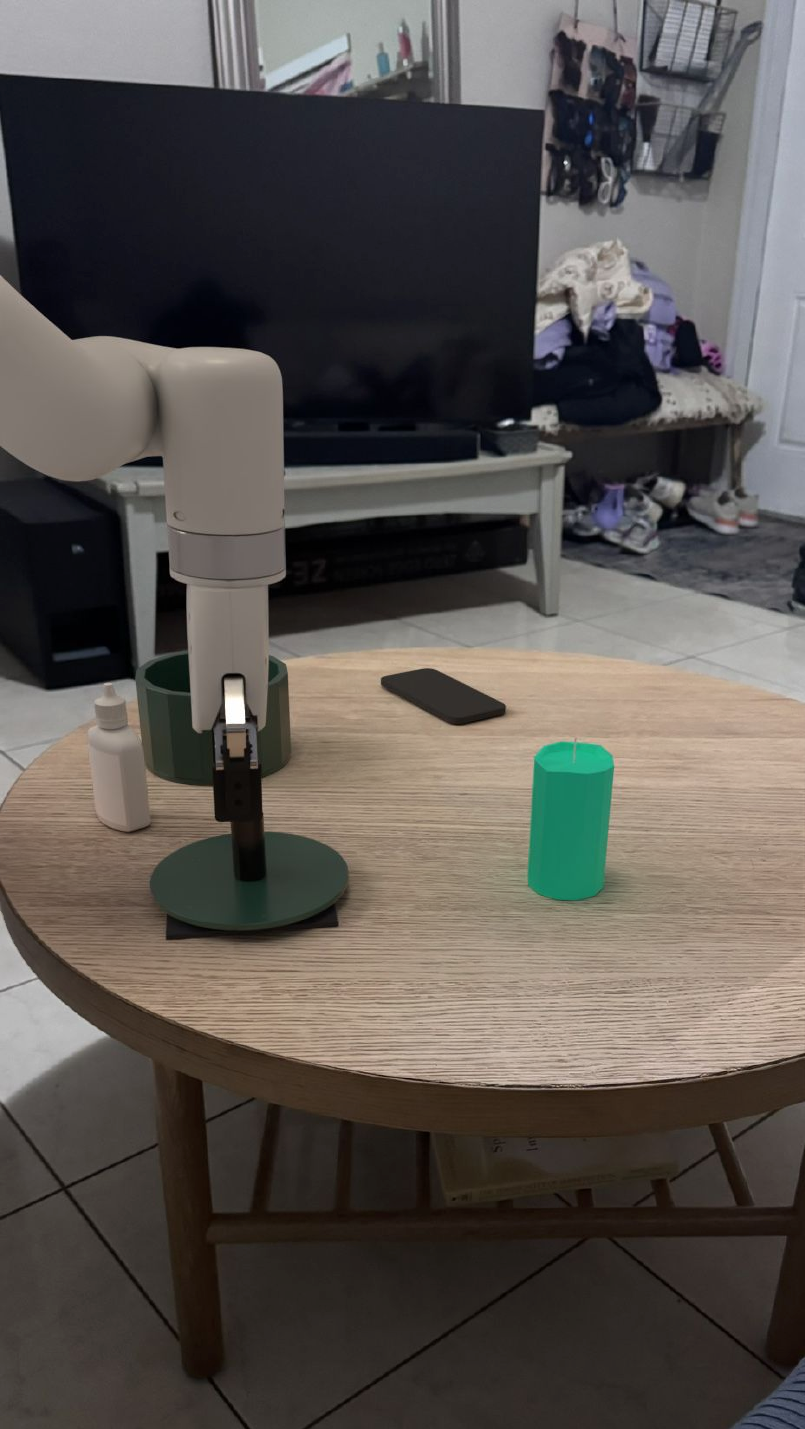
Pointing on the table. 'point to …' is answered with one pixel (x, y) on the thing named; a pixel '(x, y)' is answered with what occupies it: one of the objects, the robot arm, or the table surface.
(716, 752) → the table surface
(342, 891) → the tin lid
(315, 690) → the table surface
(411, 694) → the phone
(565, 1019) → the table surface
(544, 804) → the candle
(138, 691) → the tin
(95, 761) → the eye dropper bottle
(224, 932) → the mat
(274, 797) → the table surface
